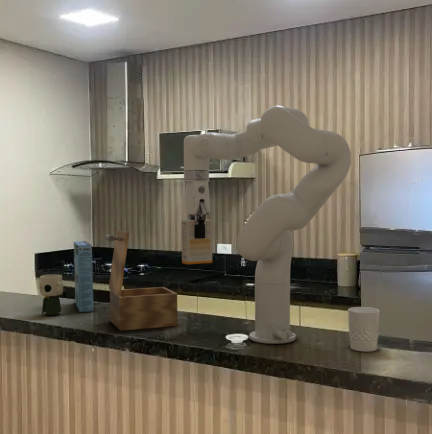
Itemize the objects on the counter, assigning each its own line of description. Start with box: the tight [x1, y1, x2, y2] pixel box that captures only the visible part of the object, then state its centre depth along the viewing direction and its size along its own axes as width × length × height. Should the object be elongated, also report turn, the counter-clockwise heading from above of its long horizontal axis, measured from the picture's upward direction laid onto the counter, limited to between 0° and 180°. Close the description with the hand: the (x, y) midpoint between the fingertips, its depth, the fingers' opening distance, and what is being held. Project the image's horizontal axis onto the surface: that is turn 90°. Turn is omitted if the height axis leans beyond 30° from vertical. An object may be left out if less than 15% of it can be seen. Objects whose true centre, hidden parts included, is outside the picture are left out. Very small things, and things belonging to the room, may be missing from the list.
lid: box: [104, 229, 130, 296], centre depth 180 cm, size 19×15×5 cm
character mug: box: [39, 274, 64, 316], centre depth 199 cm, size 11×7×13 cm, turn 56°
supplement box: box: [180, 218, 213, 265], centre depth 180 cm, size 8×5×13 cm, turn 115°
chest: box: [109, 286, 178, 332], centre depth 184 cm, size 18×15×10 cm
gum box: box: [73, 240, 94, 313], centre depth 212 cm, size 19×5×23 cm, turn 17°
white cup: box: [347, 306, 381, 353], centre depth 153 cm, size 8×8×10 cm
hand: (196, 237), depth 180 cm, fingers closed on supplement box, 5 cm apart
